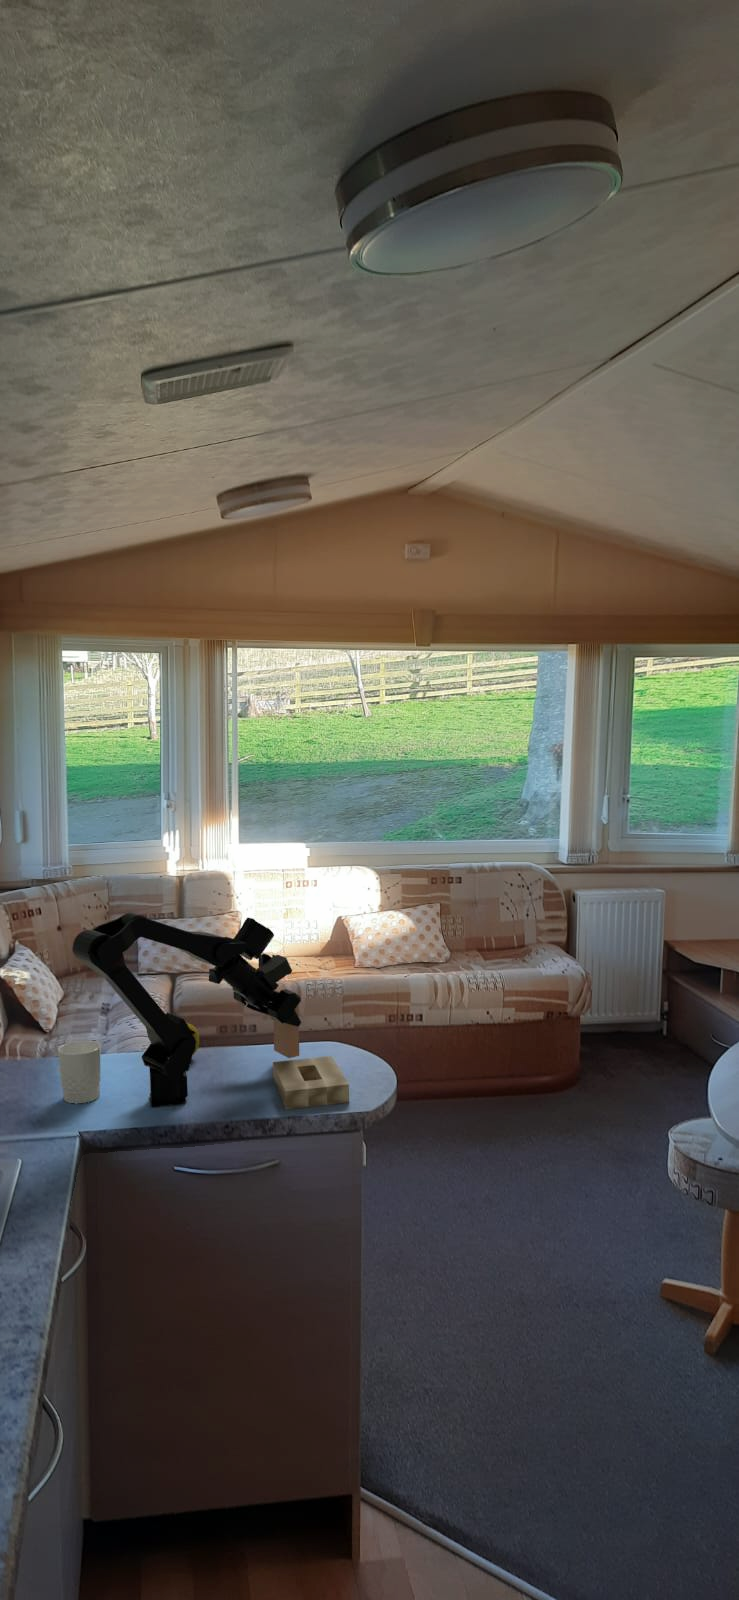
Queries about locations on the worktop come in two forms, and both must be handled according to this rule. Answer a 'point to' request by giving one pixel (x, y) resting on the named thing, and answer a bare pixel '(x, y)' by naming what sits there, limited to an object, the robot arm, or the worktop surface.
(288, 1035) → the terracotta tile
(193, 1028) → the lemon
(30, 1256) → the worktop surface
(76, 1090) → the white cup
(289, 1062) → the pine slot box
